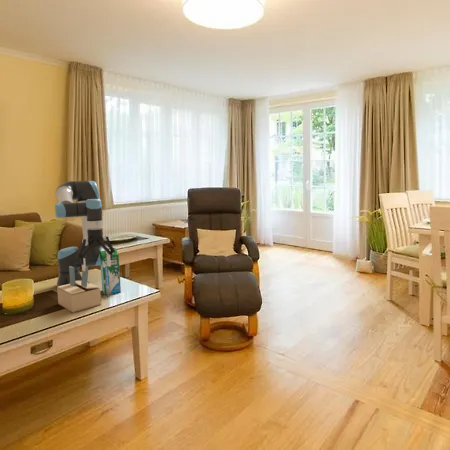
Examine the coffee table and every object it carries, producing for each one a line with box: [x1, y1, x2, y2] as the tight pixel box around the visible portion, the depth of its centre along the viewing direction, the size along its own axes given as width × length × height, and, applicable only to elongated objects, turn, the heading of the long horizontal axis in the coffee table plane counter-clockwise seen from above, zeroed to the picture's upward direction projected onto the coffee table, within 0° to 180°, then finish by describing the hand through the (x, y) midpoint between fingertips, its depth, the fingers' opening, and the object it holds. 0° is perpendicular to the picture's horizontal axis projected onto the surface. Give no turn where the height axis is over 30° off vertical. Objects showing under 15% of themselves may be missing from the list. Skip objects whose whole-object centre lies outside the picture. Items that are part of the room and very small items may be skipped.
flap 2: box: [75, 266, 100, 289], centre depth 193 cm, size 17×7×10 cm, turn 46°
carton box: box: [56, 284, 102, 314], centre depth 191 cm, size 18×15×9 cm
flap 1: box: [57, 266, 85, 295], centre depth 187 cm, size 17×7×10 cm, turn 46°
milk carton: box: [99, 247, 122, 296], centre depth 210 cm, size 9×9×25 cm
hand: (96, 268), depth 192 cm, fingers open, 13 cm apart
